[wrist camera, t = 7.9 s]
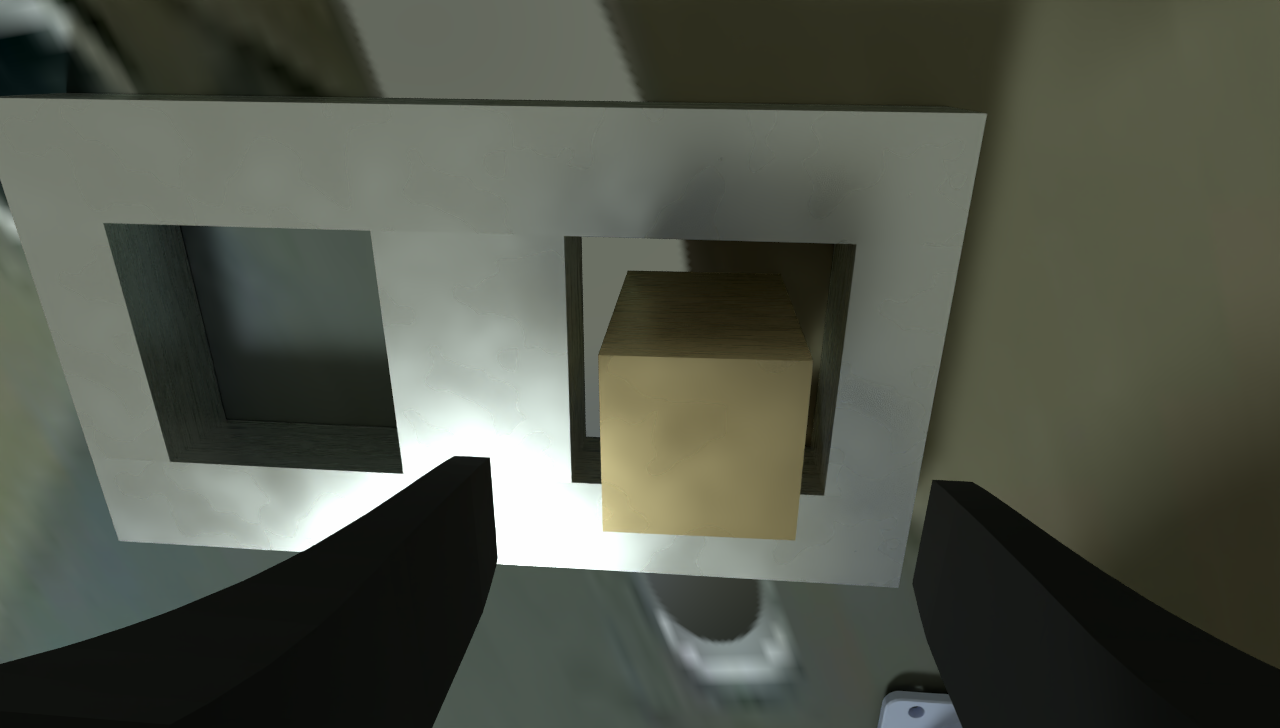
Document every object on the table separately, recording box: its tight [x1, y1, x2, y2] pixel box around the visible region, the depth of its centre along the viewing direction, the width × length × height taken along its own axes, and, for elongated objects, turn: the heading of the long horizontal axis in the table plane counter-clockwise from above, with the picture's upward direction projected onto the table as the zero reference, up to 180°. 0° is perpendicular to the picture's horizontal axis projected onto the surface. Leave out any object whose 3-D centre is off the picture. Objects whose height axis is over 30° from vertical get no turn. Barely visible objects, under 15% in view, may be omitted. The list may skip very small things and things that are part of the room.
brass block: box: [598, 271, 813, 540], centre depth 17 cm, size 4×4×6 cm
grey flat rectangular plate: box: [0, 93, 987, 588], centre depth 19 cm, size 22×12×2 cm, turn 89°
